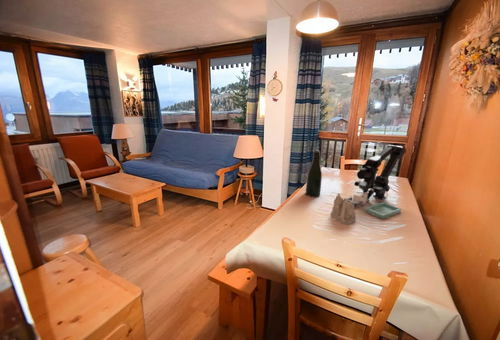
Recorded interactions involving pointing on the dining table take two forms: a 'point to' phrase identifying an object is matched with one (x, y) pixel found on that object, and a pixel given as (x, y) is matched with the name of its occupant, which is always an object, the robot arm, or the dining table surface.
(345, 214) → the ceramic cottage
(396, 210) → the tray
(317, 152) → the beer bottle
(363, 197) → the teal striped block
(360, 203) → the bay
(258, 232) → the dining table surface
